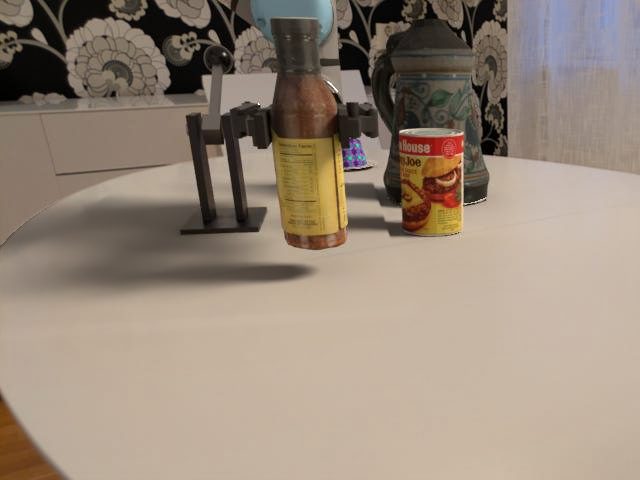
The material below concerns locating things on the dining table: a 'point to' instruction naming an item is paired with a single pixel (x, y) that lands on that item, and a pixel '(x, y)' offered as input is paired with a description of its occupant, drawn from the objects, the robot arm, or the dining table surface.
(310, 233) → the sauce bottle
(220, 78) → the lever
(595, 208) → the dining table surface
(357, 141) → the pudding
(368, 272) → the dining table surface
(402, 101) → the beer stein
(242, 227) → the bracket
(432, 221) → the canned food
